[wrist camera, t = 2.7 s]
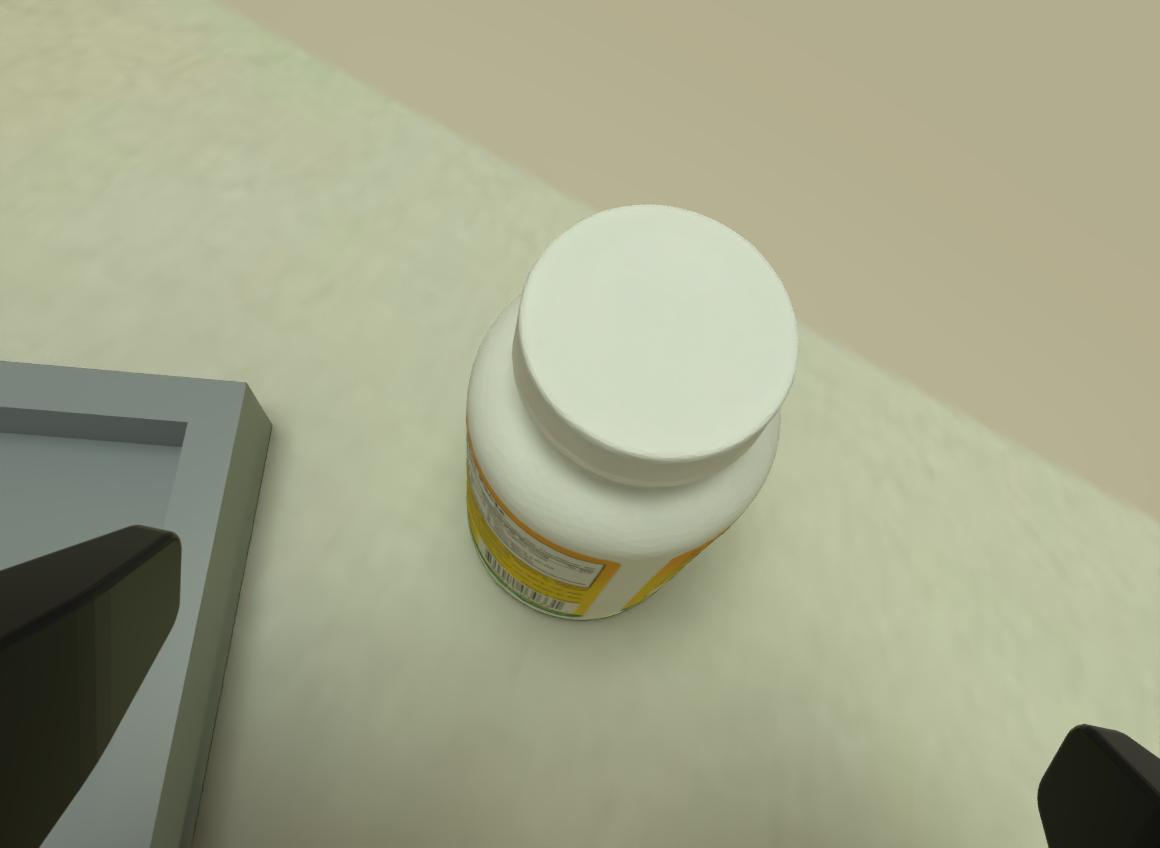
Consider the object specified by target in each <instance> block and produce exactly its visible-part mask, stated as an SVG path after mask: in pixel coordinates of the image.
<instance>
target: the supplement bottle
mask: <svg viewBox="0 0 1160 848" xmlns="http://www.w3.org/2000/svg"><path fill="white" fill-rule="evenodd" d="M798 352H799V336H798V329H797V322H796V317H795V314H794V310H793V307H792V304H791V301H790V299H789V296H788V294H787V292H786V289H785V287H784V285H783V283H782V282H781V280H780V279H779V277H778V276H777V274H776V273H775V271H774V270H773V269H772V267H771V266H770V264H769V263H768V262H767V260H766V259H765V258H764V257H763V256H762V255H761V254H760V253H759V252H758V250H757V249H756V248H755V247H754V246H753V245H752V244H750V243H749V242H748V241H747V240H746V239H744V238H743V237H741V236H740V235H738V234H737V233H735V232H734V231H733V230H731V229H729V228H728V227H726V226H724V225H723V224H721V223H719V222H717V221H715V220H713V219H710V218H708V217H705V216H703V215H701V214H699V213H695V212H692V211H688V210H685V209H681V208H676V207H670V206H664V205H630V206H626V207H617V208H614V209H609V210H606V211H603V212H599V213H597V214H594V215H592V216H589V217H587V218H585V219H583V220H581V221H579V222H578V223H576V224H575V225H573V226H571V227H570V228H569V229H567V230H566V231H564V232H563V233H562V234H560V235H559V236H558V237H557V238H556V239H555V240H553V241H552V242H551V243H550V244H549V245H548V246H547V248H546V249H545V250H544V252H543V253H542V254H541V255H540V257H539V258H538V259H537V261H536V263H535V264H534V266H533V267H532V269H531V271H530V272H529V275H528V277H527V280H526V283H525V286H524V289H523V292H522V294H521V295H520V296H518V297H517V298H516V299H515V300H514V301H513V302H512V303H511V304H510V305H509V306H508V307H507V308H506V309H505V310H504V311H503V312H502V313H501V314H500V316H499V317H498V318H497V319H496V321H495V322H494V323H493V325H492V326H491V328H490V329H489V331H488V332H487V334H486V336H485V338H484V340H483V342H482V344H481V346H480V348H479V350H478V353H477V355H476V358H475V361H474V364H473V368H472V372H471V376H470V381H469V387H468V394H467V412H466V424H467V514H468V524H469V529H470V533H471V536H472V540H473V542H474V545H475V548H476V550H477V553H478V555H479V557H480V558H481V560H482V562H483V564H484V566H485V567H486V569H487V570H488V571H489V573H490V574H491V576H492V577H493V578H494V579H495V580H496V581H497V582H498V583H499V584H500V585H501V586H502V587H503V588H504V589H505V590H506V591H507V592H508V593H510V594H511V595H512V596H513V597H515V598H516V599H517V600H519V601H520V602H522V603H524V604H525V605H527V606H529V607H531V608H533V609H535V610H537V611H540V612H542V613H545V614H548V615H552V616H556V617H560V618H567V619H576V620H588V619H598V618H604V617H609V616H612V615H615V614H618V613H621V612H624V611H626V610H628V609H630V608H632V607H634V606H636V605H638V604H640V603H642V602H643V601H644V600H646V599H647V598H649V597H650V596H651V595H653V594H654V593H655V592H656V591H658V590H659V589H660V588H661V587H662V586H663V585H664V584H665V583H667V582H668V581H669V580H670V579H671V578H672V577H673V576H674V575H675V574H677V573H678V572H679V571H680V570H681V569H682V568H683V567H684V566H685V565H686V564H687V563H689V562H690V561H691V560H692V559H693V558H695V557H696V556H697V555H698V554H699V553H700V552H701V551H702V550H704V549H705V548H706V547H707V546H708V545H709V544H711V543H712V542H713V541H714V540H715V539H716V538H718V537H719V536H720V535H722V534H723V533H724V532H725V531H726V530H727V529H729V528H730V526H731V525H732V524H733V523H734V522H735V521H736V520H737V519H738V518H739V517H740V516H741V515H742V514H743V513H744V511H745V510H746V509H747V508H748V507H749V505H750V504H751V503H752V501H753V500H754V499H755V497H756V496H757V494H758V492H759V491H760V489H761V488H762V486H763V484H764V482H765V480H766V478H767V476H768V474H769V471H770V469H771V467H772V464H773V461H774V458H775V455H776V450H777V445H778V440H779V432H780V407H781V405H782V404H783V402H784V400H785V398H786V396H787V395H788V393H789V391H790V388H791V386H792V384H793V381H794V376H795V372H796V367H797V360H798Z"/></svg>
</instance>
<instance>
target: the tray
mask: <svg viewBox="0 0 1160 848" xmlns="http://www.w3.org/2000/svg"><path fill="white" fill-rule="evenodd" d="M271 428H272V424H271V422H270V420H269V419H268V417H267V416H266V414H265V412H264V411H263V409H262V407H261V406H260V404H259V402H258V401H257V399H256V397H255V396H254V394H253V392H252V391H251V389H250V387H249V386H248V384H247V383H246V382H234V381H223V380H211V379H200V378H189V377H177V376H166V375H155V374H143V373H132V372H121V371H109V370H98V369H87V368H75V367H64V366H53V365H41V364H30V363H19V362H7V361H0V570H3V569H6V568H8V567H11V566H14V565H17V564H20V563H23V562H26V561H29V560H32V559H35V558H38V557H41V556H43V555H46V554H49V553H52V552H55V551H58V550H61V549H64V548H67V547H70V546H73V545H76V544H78V543H81V542H84V541H87V540H90V539H93V538H96V537H99V536H102V535H105V534H108V533H111V532H113V531H116V530H119V529H122V528H125V527H128V526H131V525H145V526H149V527H154V528H159V529H163V530H168V531H173V532H175V533H176V534H177V535H178V536H179V537H180V540H181V544H182V561H181V591H180V606H179V612H178V615H177V618H176V621H175V624H174V626H173V628H172V630H171V632H170V634H169V635H168V637H167V639H166V641H165V643H164V644H163V646H162V648H161V650H160V652H159V654H158V655H157V657H156V659H155V661H154V663H153V665H152V666H151V668H150V670H149V672H148V674H147V675H146V677H145V679H144V681H143V683H142V685H141V686H140V688H139V690H138V692H137V694H136V696H135V697H134V699H133V701H132V703H131V705H130V706H129V708H128V710H127V712H126V714H125V716H124V717H123V719H122V721H121V723H120V725H119V726H118V728H117V730H116V732H115V734H114V736H113V737H112V739H111V741H110V743H109V744H108V746H107V748H106V750H105V751H104V753H103V755H102V756H101V758H100V760H99V762H98V763H97V765H96V766H95V768H94V769H93V771H92V772H91V774H90V775H89V777H88V778H87V780H86V782H85V783H84V785H83V786H82V788H81V789H80V790H79V792H78V793H77V795H76V796H75V798H74V799H73V800H72V802H71V803H70V805H69V806H68V808H67V809H66V810H65V812H64V813H63V815H62V816H61V818H60V819H59V820H58V822H57V823H56V825H55V826H54V828H53V829H52V830H51V832H50V833H49V835H48V836H47V838H46V839H45V840H44V842H43V843H42V845H41V846H40V848H191V844H192V839H193V833H194V828H195V823H196V818H197V813H198V807H199V802H200V797H201V792H202V787H203V781H204V776H205V771H206V766H207V761H208V755H209V750H210V745H211V740H212V735H213V729H214V724H215V719H216V714H217V709H218V703H219V698H220V693H221V688H222V683H223V678H224V672H225V667H226V662H227V657H228V652H229V646H230V641H231V636H232V631H233V626H234V620H235V615H236V610H237V605H238V600H239V594H240V589H241V584H242V579H243V574H244V568H245V563H246V558H247V553H248V548H249V542H250V537H251V532H252V527H253V522H254V516H255V511H256V506H257V501H258V496H259V490H260V485H261V480H262V475H263V470H264V464H265V459H266V454H267V449H268V444H269V438H270V433H271Z"/></svg>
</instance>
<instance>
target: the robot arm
mask: <svg viewBox="0 0 1160 848" xmlns="http://www.w3.org/2000/svg"><path fill="white" fill-rule="evenodd" d="M181 561H182V544H181V540H180V537H179V536H178V535H177V534H176V533H175V532H173V531H168V530H163V529H159V528H154V527H149V526H145V525H131V526H128V527H125V528H122V529H119V530H116V531H113V532H111V533H108V534H105V535H102V536H99V537H96V538H93V539H90V540H87V541H84V542H81V543H78V544H76V545H73V546H70V547H67V548H64V549H61V550H58V551H55V552H52V553H49V554H46V555H43V556H41V557H38V558H35V559H32V560H29V561H26V562H23V563H20V564H17V565H14V566H11V567H8V568H6V569H3V570H0V848H40V846H41V845H42V843H43V842H44V840H45V839H46V838H47V836H48V835H49V833H50V832H51V830H52V829H53V828H54V826H55V825H56V823H57V822H58V820H59V819H60V818H61V816H62V815H63V813H64V812H65V810H66V809H67V808H68V806H69V805H70V803H71V802H72V800H73V799H74V798H75V796H76V795H77V793H78V792H79V790H80V789H81V788H82V786H83V785H84V783H85V782H86V780H87V778H88V777H89V775H90V774H91V772H92V771H93V769H94V768H95V766H96V765H97V763H98V762H99V760H100V758H101V756H102V755H103V753H104V751H105V750H106V748H107V746H108V744H109V743H110V741H111V739H112V737H113V736H114V734H115V732H116V730H117V728H118V726H119V725H120V723H121V721H122V719H123V717H124V716H125V714H126V712H127V710H128V708H129V706H130V705H131V703H132V701H133V699H134V697H135V696H136V694H137V692H138V690H139V688H140V686H141V685H142V683H143V681H144V679H145V677H146V675H147V674H148V672H149V670H150V668H151V666H152V665H153V663H154V661H155V659H156V657H157V655H158V654H159V652H160V650H161V648H162V646H163V644H164V643H165V641H166V639H167V637H168V635H169V634H170V632H171V630H172V628H173V626H174V624H175V621H176V618H177V615H178V612H179V606H180V591H181ZM1037 799H1038V809H1039V813H1040V817H1041V821H1042V824H1043V828H1044V832H1045V836H1046V840H1047V843H1048V847H1049V848H1160V759H1159V758H1158V757H1156V756H1155V755H1154V754H1152V753H1151V752H1149V751H1148V750H1147V749H1145V748H1144V747H1143V746H1141V745H1140V744H1138V743H1137V742H1136V741H1134V740H1133V739H1131V738H1130V737H1129V736H1127V735H1125V734H1124V733H1121V732H1119V731H1116V730H1111V729H1106V728H1102V727H1097V726H1092V725H1087V724H1082V725H1077V726H1075V727H1074V728H1073V729H1071V730H1070V731H1069V733H1068V734H1067V736H1066V737H1065V739H1064V741H1063V743H1062V744H1061V746H1060V748H1059V750H1058V751H1057V753H1056V755H1055V757H1054V758H1053V760H1052V762H1051V763H1050V765H1049V767H1048V769H1047V770H1046V772H1045V774H1044V776H1043V777H1042V779H1041V782H1040V784H1039V788H1038V796H1037Z"/></svg>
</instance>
